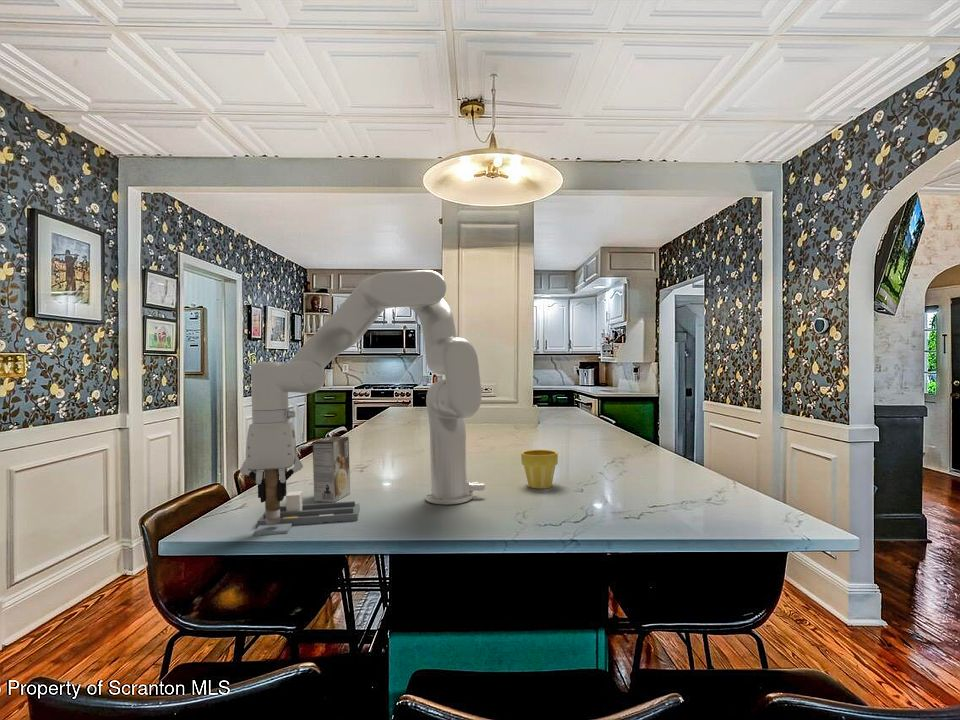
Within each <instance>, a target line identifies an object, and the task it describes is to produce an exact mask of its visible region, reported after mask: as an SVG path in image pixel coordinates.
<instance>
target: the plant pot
mask: <svg viewBox="0 0 960 720" xmlns="http://www.w3.org/2000/svg"><path fill="white" fill-rule="evenodd" d="M520 454H521V455H520V458H521V460H520V461H521V464H522V465H523V468H524V472H525V475H526V479H527V480H526V481H527V485H528V487H529V488H533V489H536V490H537V489H538V490H540V489H541V490H543V489H545V490H546V489H549V488H552V486H553V481H554V475H555V470H556V466H557V465H558V463H559V462H558V460H559V458H558V456H559V454H558V452H557V451H555V450H551V449H528V450H524V451H522V452H520Z"/></svg>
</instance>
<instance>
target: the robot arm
mask: <svg viewBox="0 0 960 720" xmlns="http://www.w3.org/2000/svg"><path fill="white" fill-rule="evenodd" d="M446 292H447V283H446V280H445V278H444V277H443V276H442V275H441V274H440V273H439V272H437V271H436V270H435V271H434V270H431V269H422V270H420V269H419V270H403V271H401V270H399V271H383V272H378V273H376V274H373V275H371V276H367V277H366V278H364V279H363V280H362V281H361V282H360V283H359V284H358V285H357V286H356V287H355V289H354V290H353V291H351V293H350V294H349V295H348V296H347V298H346V299H345V300H344V301H343V302H342V303H341V305H340V306H339V307H338V309H336V310H335V312H334V313H333V314H332V315H331V316H330V318H328V319H327V320H326V321H325V322H324V323H323V324H322V325H321V327H319V329H318V330H317V331H316V332H315V333H314V334H313V335H312V336H311V337H309V339H308V340H307V341H305V343H304V344H303V345H302V347H300V349H299V350H298V351H297V352H296V353H295V354H294V356H292V358H291V359H290V360H289V362H282V361H259V362H255V363H253V364H252V366H251V369H250V375H251V376H250V378H251V379H250V381H251V383H250V384H251V387H250V388H251V422H252V423H250V424H248V430H247V435H246V436H247V437H246V446H245V447H246V448H245V459H244V462H243V463H242V465H241V467H240V470H239V472H240V473H241V474H243V475H246V476H248V477H250V478H251V480H252V481H254V482H255V484H256V485H257V497H258V499H260V503H265V470H270V469H279V483H278V501H280V502H283V501H284V499H285V497H286V495H287V480H289V479H290V478H291V476H293V475H294V474H295V473H297V472H299V471H301V470H302V469H303V467H304V465H303V464H302V461H301V460H300V458H299V457H298V451H297V438H296V431H295V427H294V423H293V421H290V420H291V418H295V417H296V411H293V410H290V408H289V393H297V394H299V393H300V394H313V393H315V392H317V391H320V389H321V388H323V386H324V384H325V383H326V379H327V373H326V371H325V368H326V367H327V366H328V365H329V364H330V363H331V362H332V361H333V360H334V359H335V358H337V356H338V355H340V354H341V353H343V352H344V351H346V350H348V349H349V348H351V347H353V346H354V345H355V344H356V343H358V342H359V341H360V340H361V339H362V337H363V336H364V335H365V334H366V332H367V331H368V330H369V329H370V327H371V326H372V325H373V324H374V322H375V321H376V320H377V319H378V318H379V317H380V316H381V315H382V313H383V312H384V311H385V310H386V309H392V308H409V309H411V310H412V311H413V312H414V313H415V314H416V315H417V317H418V318H419V321H420V323H421V327H422V332H423V341H424V349H425V351H424V352H425V359H426V364H427V367H428V369H429V370H430V371H431V372H432V373H435V374H436V375H437V374H438V375H441V376H442V375H443V376H444V378H445V379H439V380H437V381H435V382H433V383H432V384H431V385H430V387H428V390H427V392H426V399H425V402H426V403H425V405H426V410H427V415H428V422H429V449H430V451H429V453H430V454H429V455H430V491H428V492H426V493H425V496H424V499H425V501H426V502H428V503H431V504H436V505H458V504H459V505H460V504H463V503H466V502H470V501H471V500H472V499H473V498H474V493H473V492H474V491H478V492H479V491H480V492H482V491H485V489H486V488H485V482H478V481H475V482H474V481H473V482H471V481H469V480H468V477H467V476H468V475H467V431H466V430H467V429H466V423H465V419H468V418H471V417H473V416H474V415H475V414H476V413H477V412H478V411H479V410H480V407H481V405H482V386H481V383H482V382H481V375H480V366H479V358H478V355H477V351H476V349H475V348H474V346H473V344H472V343H471V342H470V341H468V340H467V339H465V338H462V337H457V331H456V326H455V325H456V324H455V319H454V315H453V312H452V309H451V308H450V306H449V304H448V303H447V302H446V300H445V299H444V298H445V295H446Z"/></svg>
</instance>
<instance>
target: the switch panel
mask: <svg viewBox="0 0 960 720" xmlns="http://www.w3.org/2000/svg"><path fill="white" fill-rule="evenodd" d="M359 513H360V503H356V501H355V500H352V501H339V502H338V501H336V502H323V503H322V502H320V503H307V504H302V511H290V512H286V505H280V523H279V524H287V523H292V526H298V525H300V526H301V525H311V524H312V525H313V524H314V523H315V524H324V523H323V522H329V523H338V522H337V521H343V522H352V521H354V522H355V521H356V522H357V521H358V518H359ZM335 521H336V522H335ZM315 524H314V525H315ZM256 525H257V527H258V526H259V525H266V515H265V511H264V512H263V513H262V515H261V516H260V517H259V518H258V519H257V524H256Z"/></svg>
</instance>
